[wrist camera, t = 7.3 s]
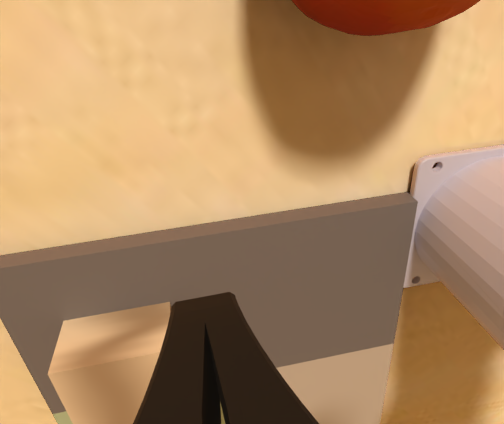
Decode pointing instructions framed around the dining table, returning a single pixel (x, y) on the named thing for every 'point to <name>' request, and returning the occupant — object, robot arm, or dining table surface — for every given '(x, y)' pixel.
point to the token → (108, 363)
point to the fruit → (381, 14)
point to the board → (241, 293)
